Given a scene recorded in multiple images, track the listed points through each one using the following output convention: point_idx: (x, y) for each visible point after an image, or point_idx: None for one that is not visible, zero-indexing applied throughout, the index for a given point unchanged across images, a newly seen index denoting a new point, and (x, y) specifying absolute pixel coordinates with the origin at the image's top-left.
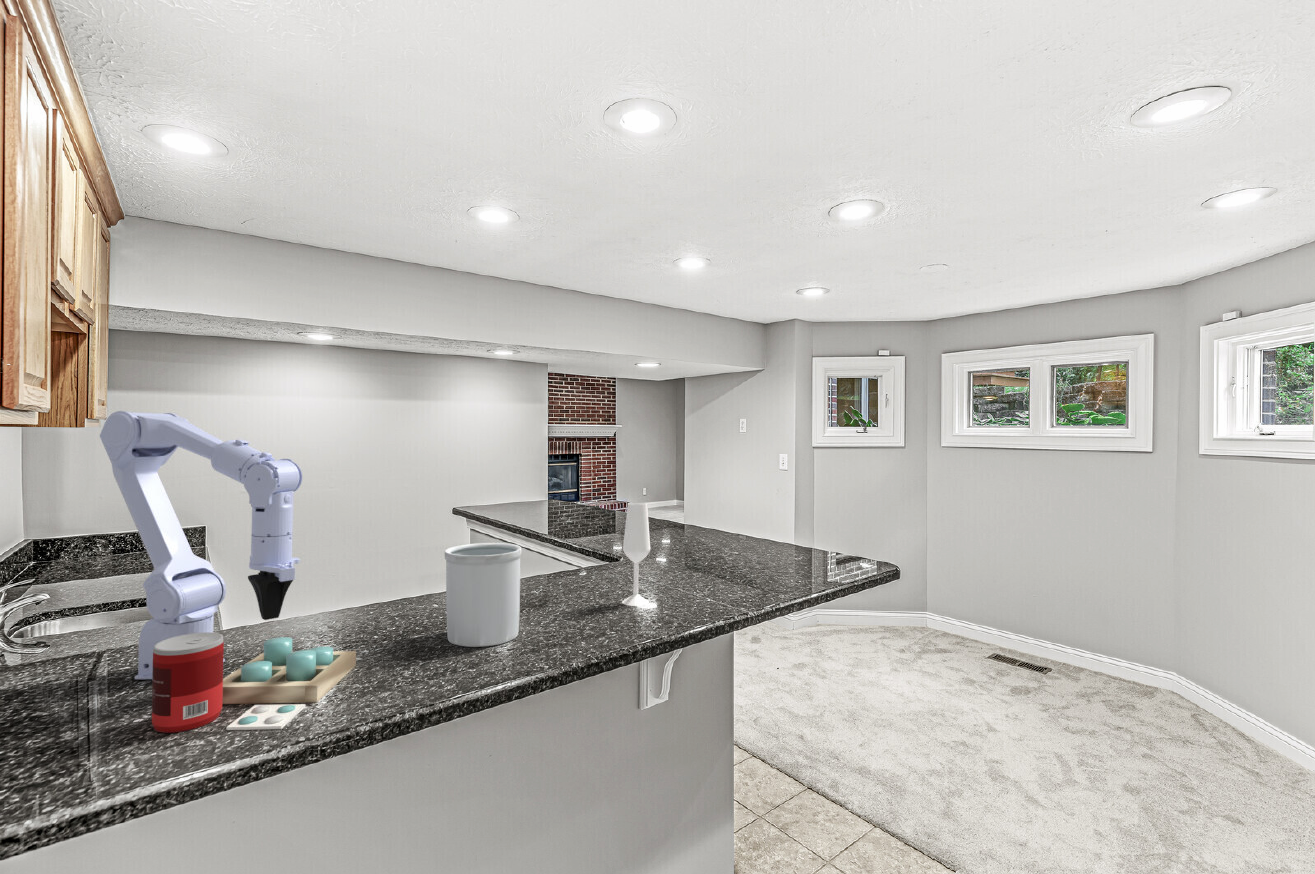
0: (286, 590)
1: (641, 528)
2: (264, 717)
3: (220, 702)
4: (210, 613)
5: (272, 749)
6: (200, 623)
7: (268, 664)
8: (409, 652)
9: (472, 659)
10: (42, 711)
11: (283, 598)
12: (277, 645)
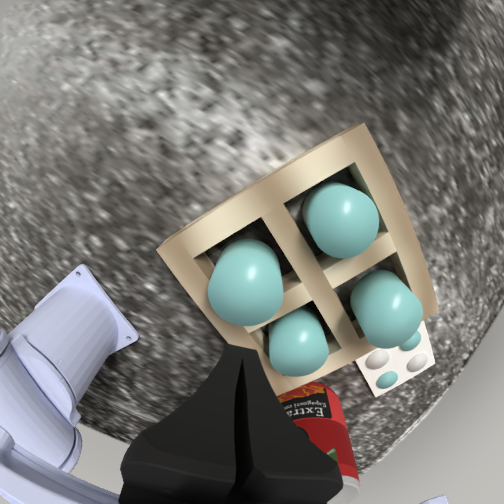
0: (296, 427)
1: None
2: (399, 365)
3: (336, 401)
4: (47, 368)
5: (451, 380)
6: (74, 383)
7: (318, 342)
8: (379, 17)
9: (490, 33)
10: (129, 433)
11: (277, 399)
12: (276, 312)
